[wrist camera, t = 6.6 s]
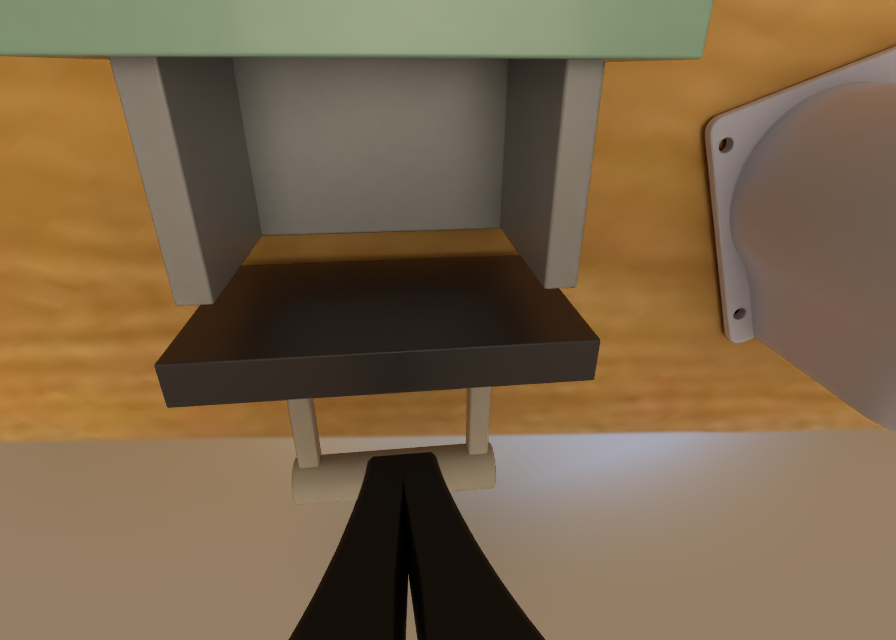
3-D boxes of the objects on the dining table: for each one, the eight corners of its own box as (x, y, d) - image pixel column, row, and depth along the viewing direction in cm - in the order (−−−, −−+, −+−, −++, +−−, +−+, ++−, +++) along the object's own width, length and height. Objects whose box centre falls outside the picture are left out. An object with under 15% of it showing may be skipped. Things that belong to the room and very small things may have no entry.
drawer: (521, 391, 20) (573, 512, 15) (259, 408, 19) (209, 546, 14) (563, -117, 13) (697, -255, 8) (147, -136, 12) (-58, -313, 6)
